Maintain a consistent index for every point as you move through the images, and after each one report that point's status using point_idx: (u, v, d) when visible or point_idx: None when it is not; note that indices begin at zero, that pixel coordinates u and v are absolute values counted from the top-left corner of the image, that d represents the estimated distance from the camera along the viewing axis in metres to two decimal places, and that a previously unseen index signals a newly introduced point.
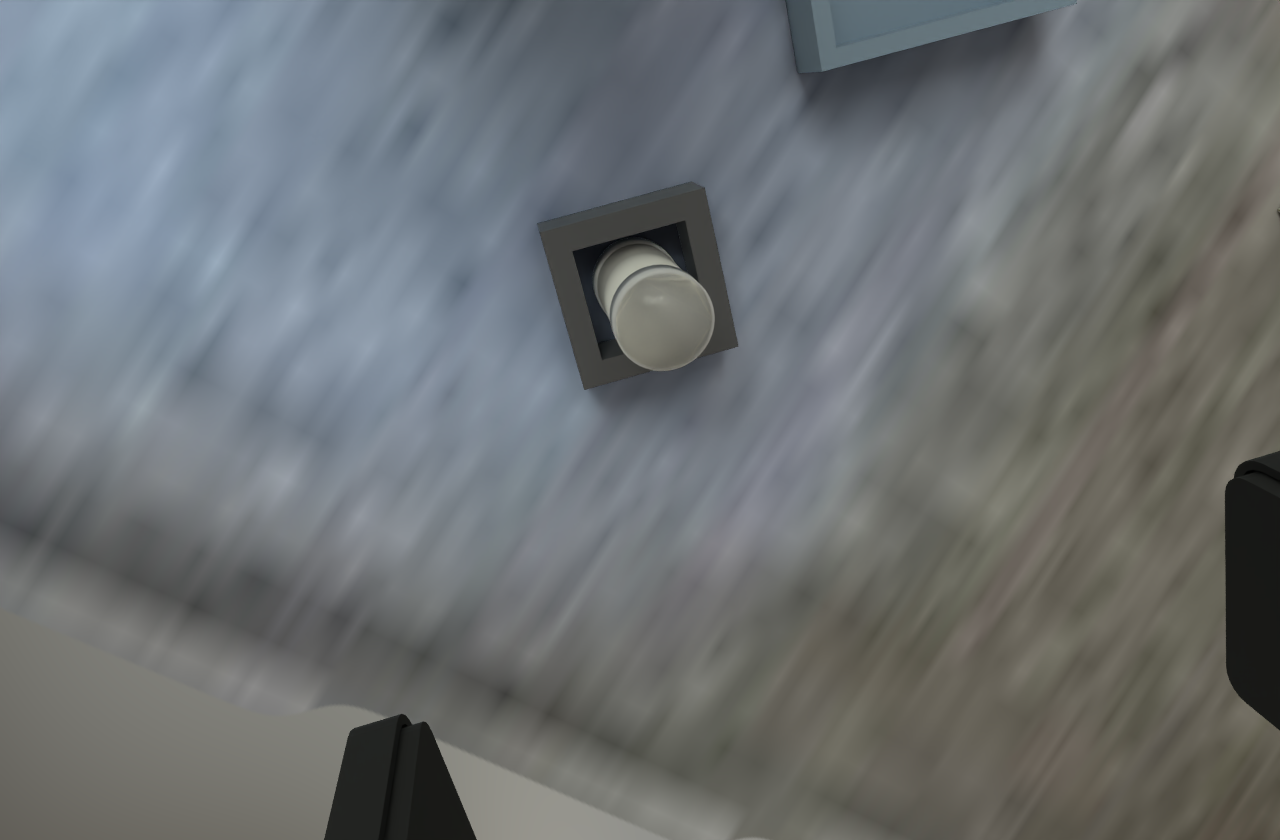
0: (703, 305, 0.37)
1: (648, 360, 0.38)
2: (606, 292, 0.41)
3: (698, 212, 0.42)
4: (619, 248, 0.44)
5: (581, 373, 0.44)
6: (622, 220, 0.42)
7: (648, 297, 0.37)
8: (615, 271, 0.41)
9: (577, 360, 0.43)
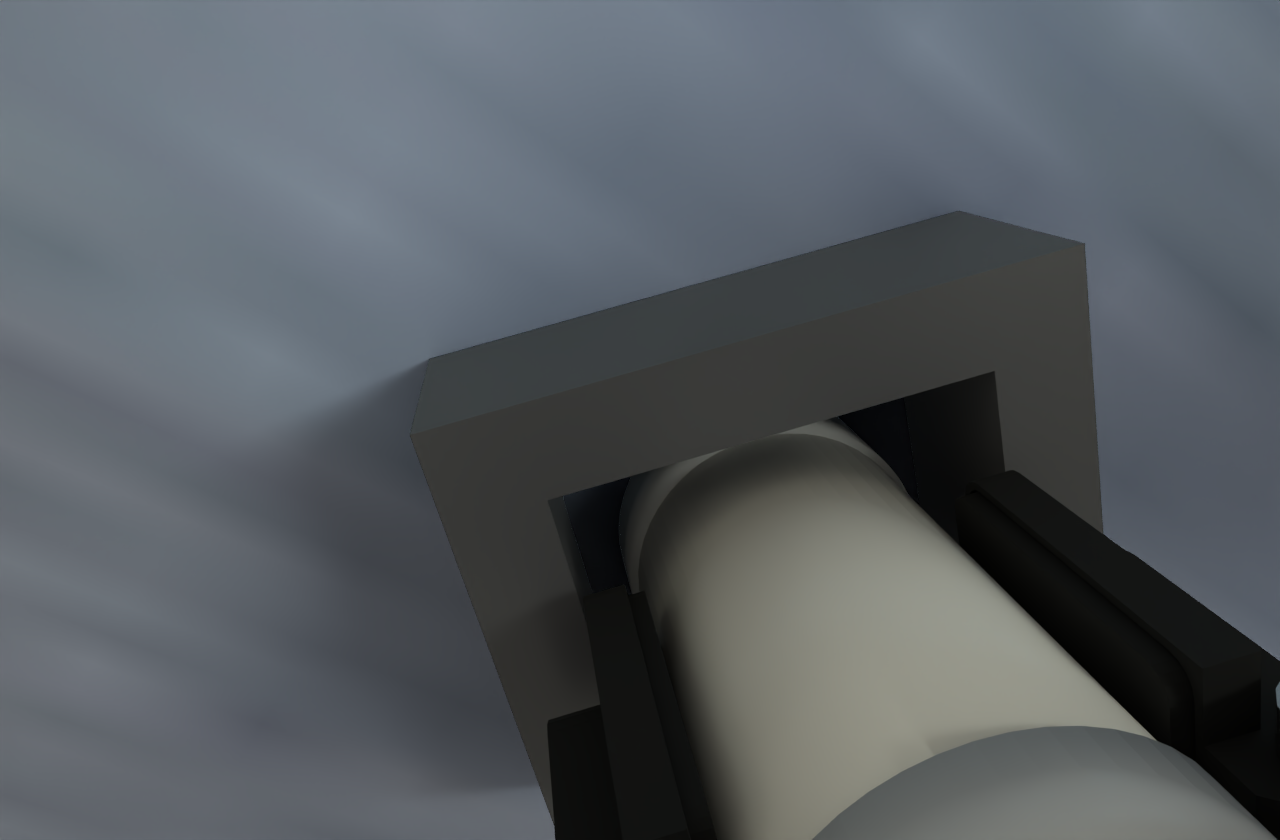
0: None
1: None
2: (939, 568, 0.09)
3: None
4: None
5: (486, 419, 0.10)
6: None
7: None
8: (996, 584, 0.10)
9: (547, 402, 0.10)
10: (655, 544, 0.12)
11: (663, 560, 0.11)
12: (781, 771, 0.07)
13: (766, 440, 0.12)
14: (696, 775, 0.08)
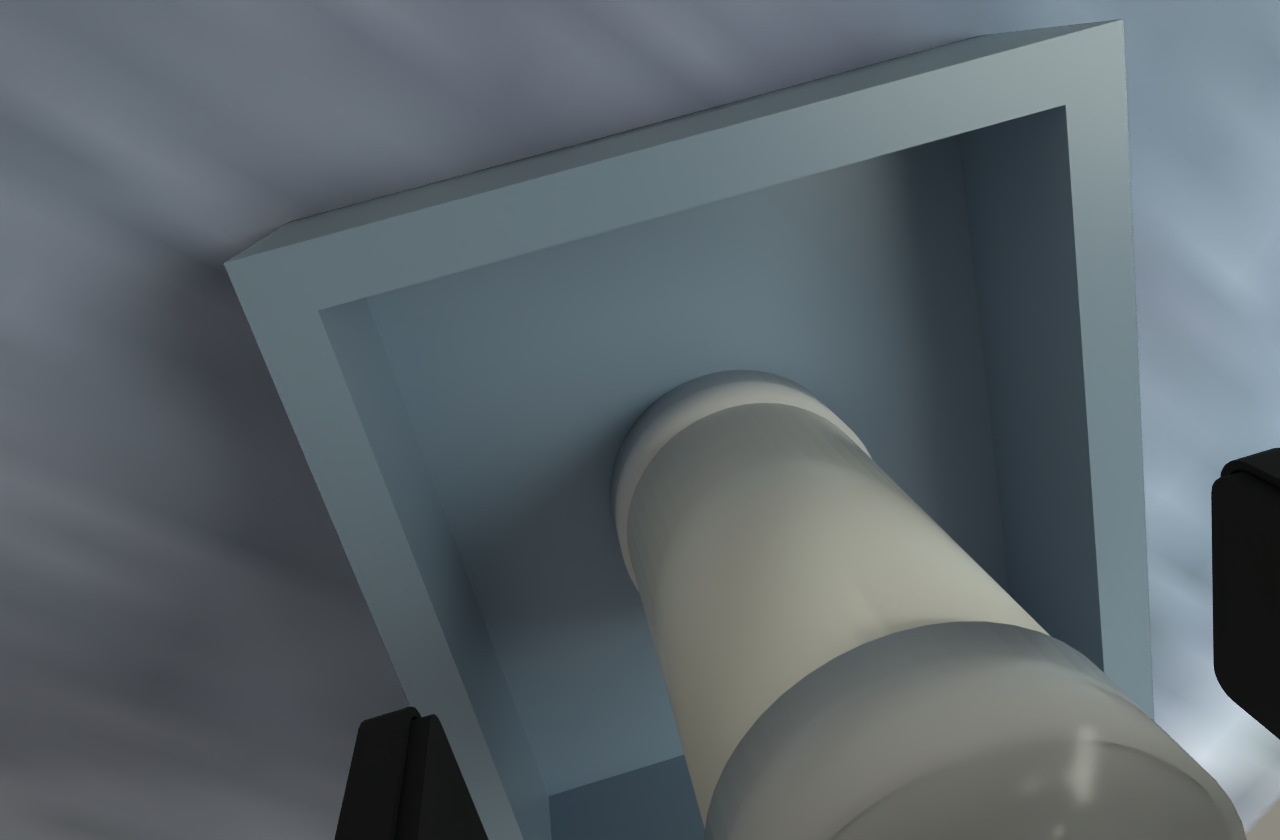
0: None
1: None
2: (884, 509, 0.10)
3: None
4: None
5: None
6: None
7: None
8: (938, 527, 0.11)
9: None
10: (641, 501, 0.13)
11: (647, 514, 0.13)
12: (737, 670, 0.09)
13: (742, 408, 0.13)
14: None
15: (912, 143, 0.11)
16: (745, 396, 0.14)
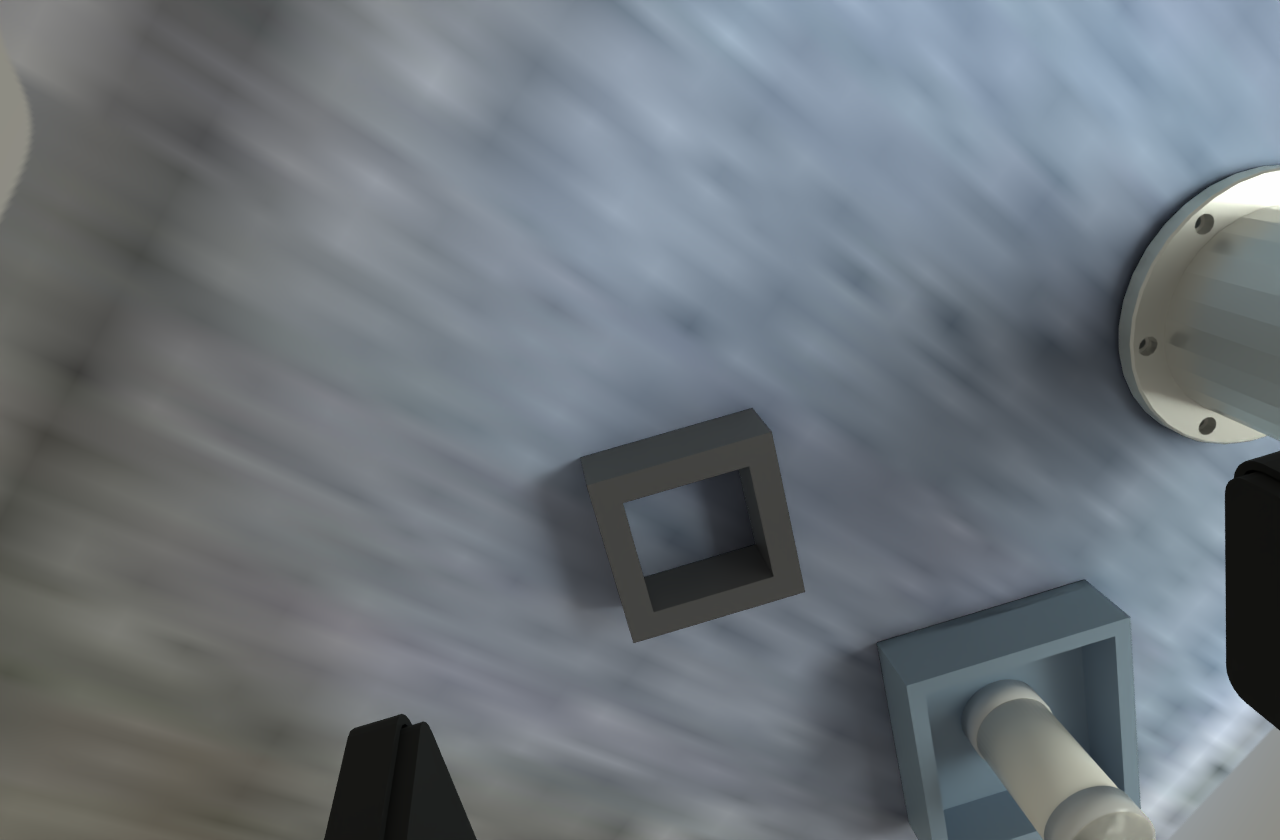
0: None
1: None
2: (1072, 748, 0.42)
3: (780, 588, 0.40)
4: None
5: (607, 481, 0.37)
6: (778, 515, 0.38)
7: (1134, 834, 0.38)
8: (1083, 749, 0.42)
9: (623, 476, 0.37)
10: (986, 729, 0.45)
11: (992, 736, 0.44)
12: (1047, 792, 0.40)
13: (1015, 701, 0.45)
14: None
15: (1075, 647, 0.42)
16: (1015, 695, 0.45)
